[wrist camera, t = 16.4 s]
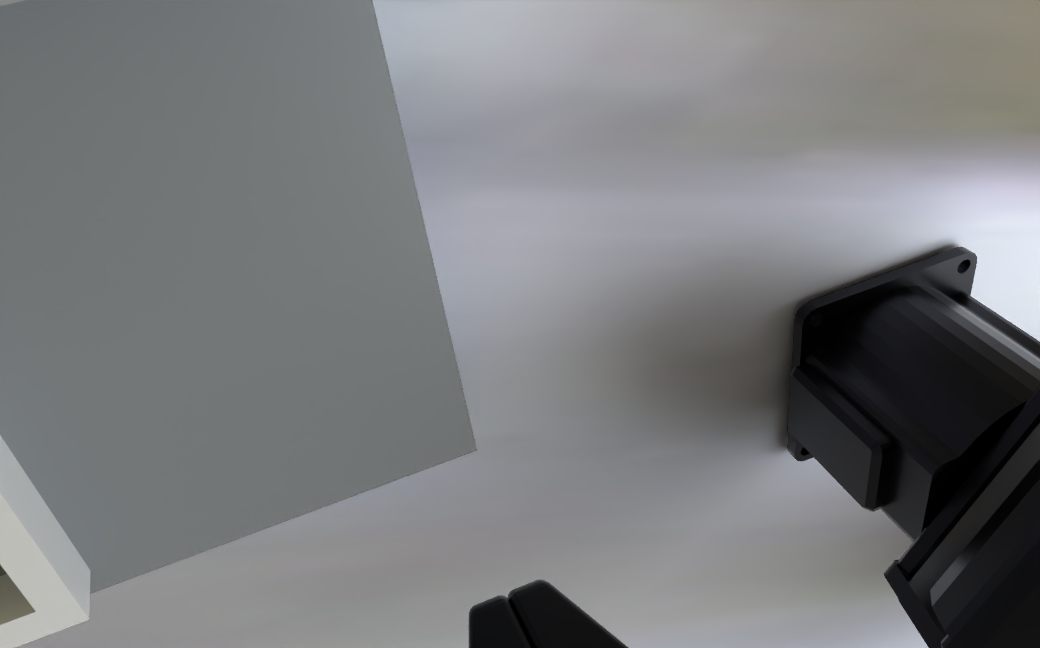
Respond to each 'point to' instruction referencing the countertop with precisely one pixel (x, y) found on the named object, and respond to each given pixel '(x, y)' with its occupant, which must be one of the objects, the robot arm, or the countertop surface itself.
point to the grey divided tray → (201, 287)
